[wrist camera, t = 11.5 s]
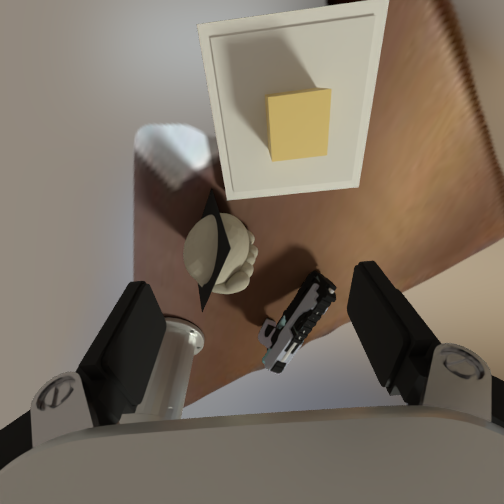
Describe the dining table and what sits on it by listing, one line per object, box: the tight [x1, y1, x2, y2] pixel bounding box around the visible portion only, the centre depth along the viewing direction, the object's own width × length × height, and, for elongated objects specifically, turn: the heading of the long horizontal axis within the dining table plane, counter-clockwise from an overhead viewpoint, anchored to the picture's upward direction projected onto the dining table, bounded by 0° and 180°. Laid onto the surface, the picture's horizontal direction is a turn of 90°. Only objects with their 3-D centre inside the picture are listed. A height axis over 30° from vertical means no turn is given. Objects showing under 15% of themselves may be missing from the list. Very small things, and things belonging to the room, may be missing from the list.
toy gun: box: [258, 271, 337, 374], centre depth 40 cm, size 2×18×10 cm, turn 149°
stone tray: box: [197, 0, 389, 200], centre depth 25 cm, size 16×16×2 cm
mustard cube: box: [265, 88, 332, 162], centre depth 22 cm, size 5×5×5 cm
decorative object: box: [183, 188, 258, 312], centre depth 30 cm, size 12×10×10 cm
